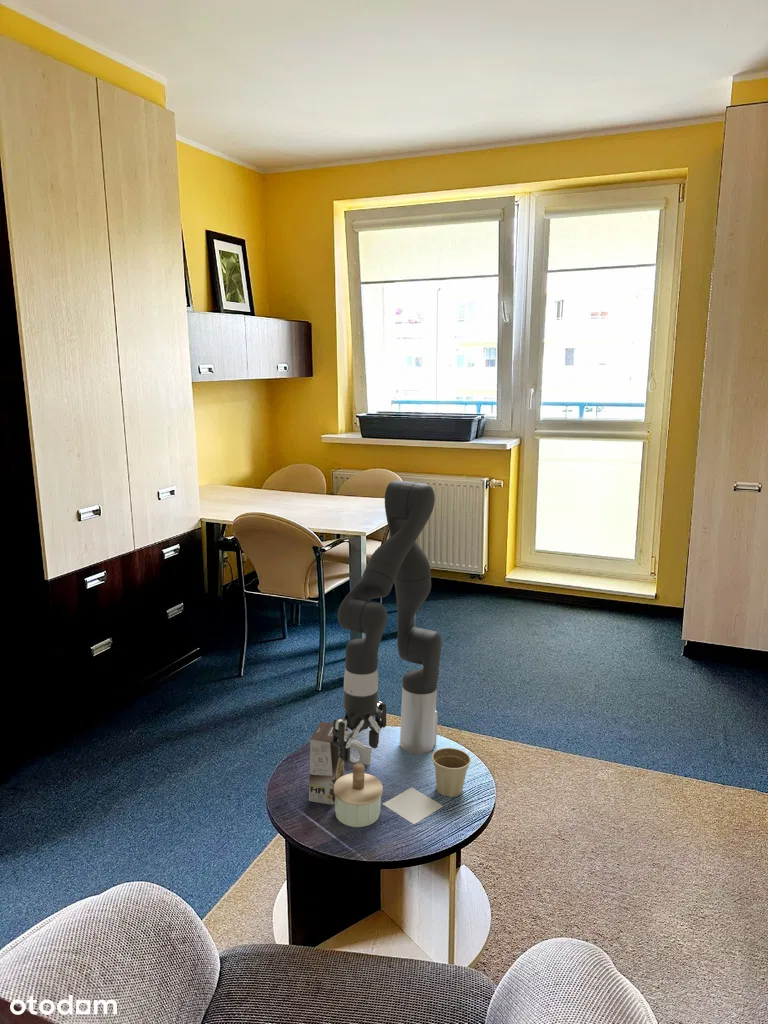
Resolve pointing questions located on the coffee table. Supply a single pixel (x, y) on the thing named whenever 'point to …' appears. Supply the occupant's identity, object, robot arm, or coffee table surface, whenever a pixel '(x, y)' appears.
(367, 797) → the lid
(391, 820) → the coffee table surface
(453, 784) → the flower pot
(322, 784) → the coffee box
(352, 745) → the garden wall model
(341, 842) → the coffee table surface
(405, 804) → the mat
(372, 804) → the bowl
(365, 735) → the coffee table surface
